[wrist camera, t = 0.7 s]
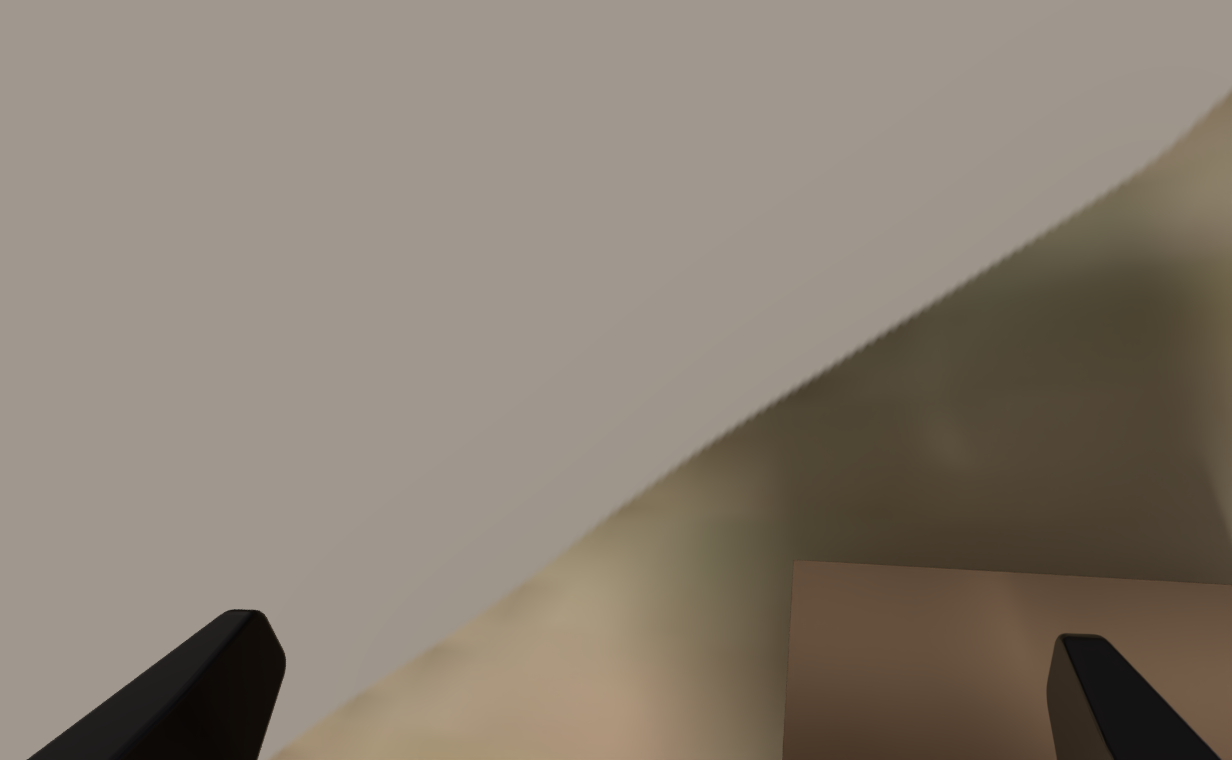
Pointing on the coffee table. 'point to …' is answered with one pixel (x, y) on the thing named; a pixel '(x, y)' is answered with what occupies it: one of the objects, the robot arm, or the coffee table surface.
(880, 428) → the coffee table surface
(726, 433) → the coffee table surface
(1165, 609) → the walnut block
